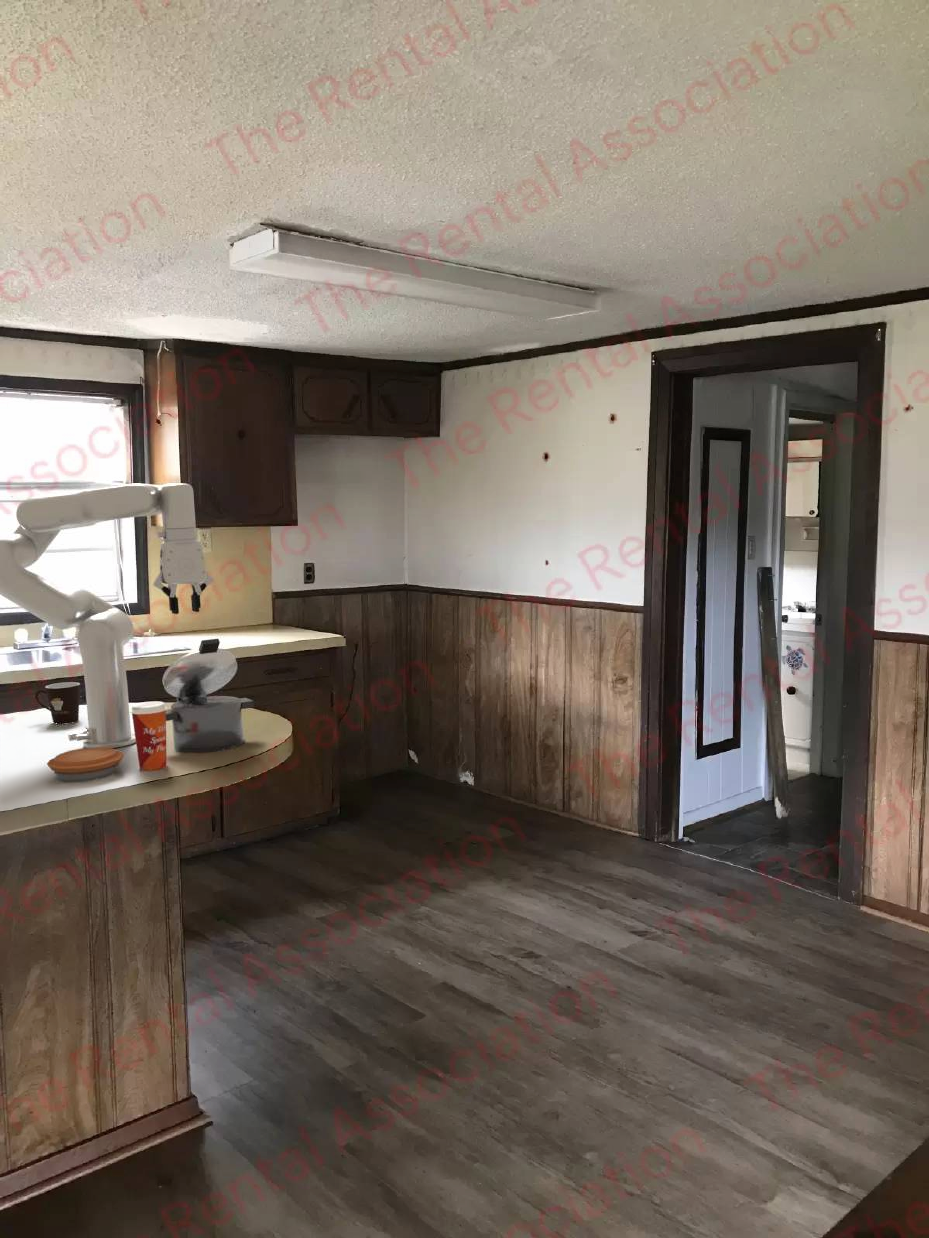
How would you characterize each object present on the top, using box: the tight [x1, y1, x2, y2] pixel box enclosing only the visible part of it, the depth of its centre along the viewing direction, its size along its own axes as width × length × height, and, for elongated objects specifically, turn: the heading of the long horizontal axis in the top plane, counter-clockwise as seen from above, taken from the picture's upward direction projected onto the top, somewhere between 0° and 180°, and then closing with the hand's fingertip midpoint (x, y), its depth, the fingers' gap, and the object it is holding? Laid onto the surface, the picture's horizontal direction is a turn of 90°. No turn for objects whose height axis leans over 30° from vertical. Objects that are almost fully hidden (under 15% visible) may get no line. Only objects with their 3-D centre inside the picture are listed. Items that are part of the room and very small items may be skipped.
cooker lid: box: [162, 638, 238, 700], centre depth 240 cm, size 18×21×3 cm
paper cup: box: [129, 700, 168, 772], centre depth 220 cm, size 8×8×14 cm
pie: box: [46, 747, 125, 783], centre depth 217 cm, size 16×16×5 cm
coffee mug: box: [34, 681, 81, 725], centre depth 273 cm, size 12×9×10 cm
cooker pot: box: [166, 695, 255, 754], centre depth 241 cm, size 22×19×10 cm
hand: (185, 611), depth 242 cm, fingers open, 4 cm apart
